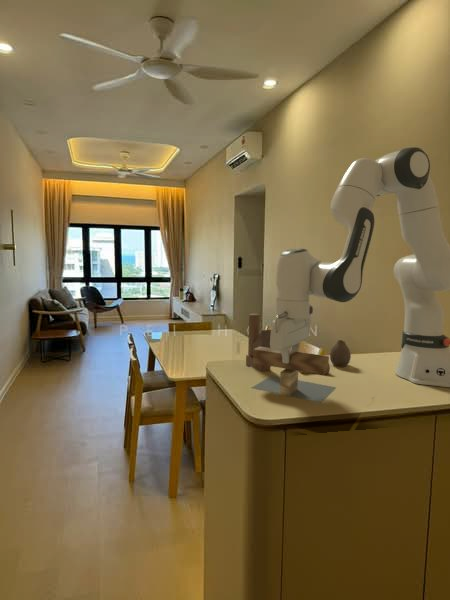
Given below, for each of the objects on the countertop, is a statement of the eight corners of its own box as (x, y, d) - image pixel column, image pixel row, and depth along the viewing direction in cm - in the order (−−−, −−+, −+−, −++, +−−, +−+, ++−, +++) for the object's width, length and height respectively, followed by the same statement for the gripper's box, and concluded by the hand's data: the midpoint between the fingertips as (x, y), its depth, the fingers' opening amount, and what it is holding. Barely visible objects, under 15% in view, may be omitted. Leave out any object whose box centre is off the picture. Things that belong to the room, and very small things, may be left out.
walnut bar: (328, 371, 104) (328, 356, 104) (324, 375, 101) (324, 359, 100) (259, 360, 114) (259, 346, 114) (253, 363, 111) (253, 349, 110)
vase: (328, 366, 136) (329, 341, 135) (331, 361, 143) (332, 338, 142) (349, 369, 134) (350, 343, 133) (351, 364, 140) (352, 339, 139)
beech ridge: (297, 389, 110) (298, 368, 109) (289, 395, 105) (290, 373, 104) (288, 387, 111) (288, 366, 111) (279, 393, 106) (280, 372, 106)
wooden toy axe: (261, 373, 127) (262, 318, 125) (245, 365, 136) (246, 313, 134) (270, 372, 128) (272, 317, 126) (254, 364, 138) (256, 313, 136)
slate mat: (336, 390, 112) (336, 387, 112) (320, 405, 101) (321, 402, 100) (271, 377, 123) (271, 375, 123) (251, 390, 111) (251, 387, 111)
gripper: (288, 315, 95) (286, 371, 97) (315, 306, 113) (313, 354, 114) (264, 313, 98) (263, 367, 100) (294, 305, 116) (292, 351, 117)
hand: (290, 360), depth 107 cm, fingers closed on walnut bar, 4 cm apart
